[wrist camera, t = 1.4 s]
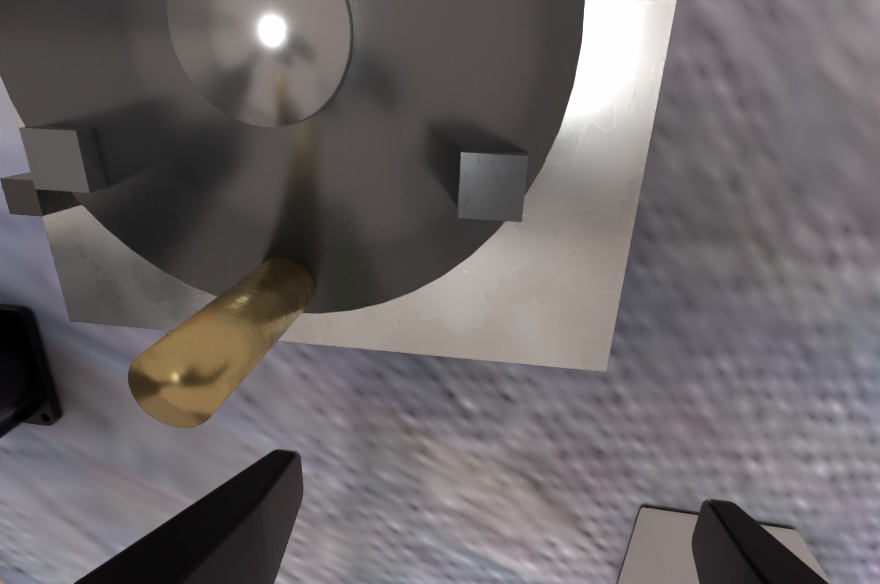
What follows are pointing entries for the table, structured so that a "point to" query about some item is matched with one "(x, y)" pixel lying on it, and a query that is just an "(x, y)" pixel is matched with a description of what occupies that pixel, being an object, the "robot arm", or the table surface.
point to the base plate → (482, 274)
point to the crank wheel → (286, 150)
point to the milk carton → (683, 549)
